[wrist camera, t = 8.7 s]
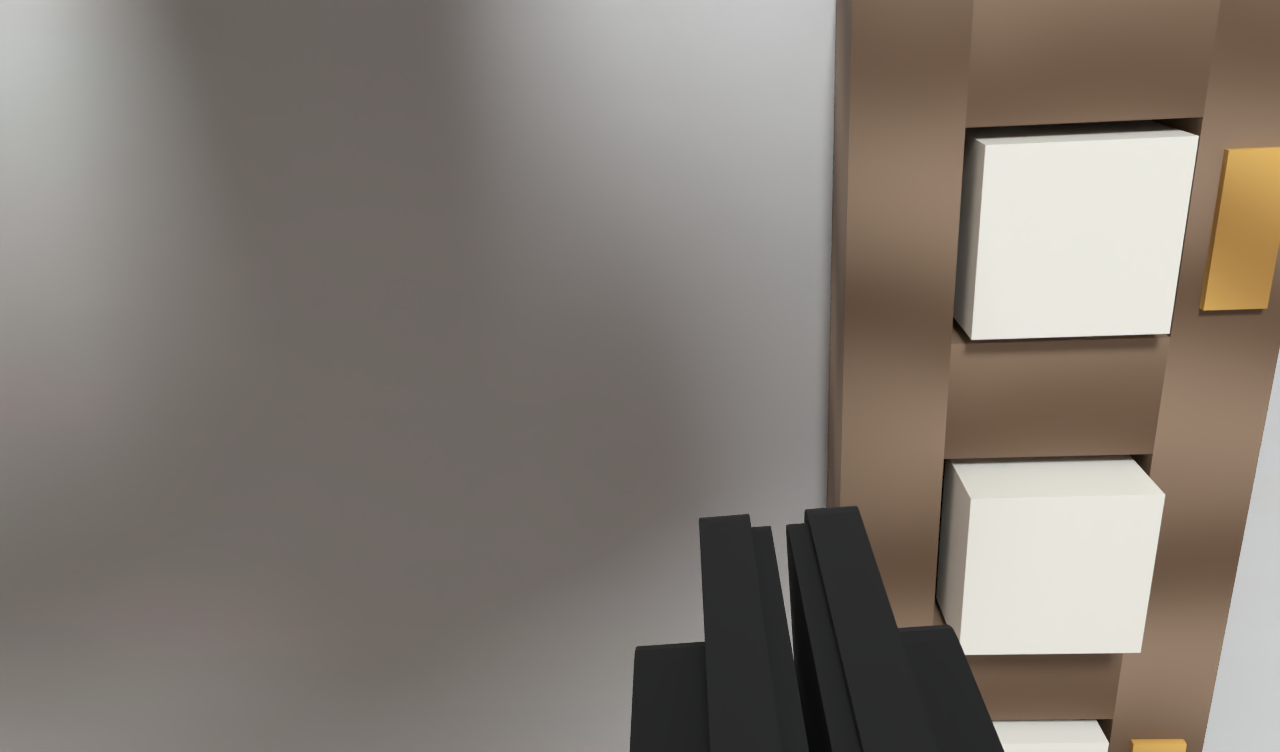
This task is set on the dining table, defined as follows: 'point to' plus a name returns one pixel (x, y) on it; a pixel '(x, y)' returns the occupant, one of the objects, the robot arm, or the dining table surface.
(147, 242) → the dining table surface
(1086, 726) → the outer button
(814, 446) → the dining table surface
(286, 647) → the dining table surface
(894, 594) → the button board
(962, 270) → the inner button
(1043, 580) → the middle button
